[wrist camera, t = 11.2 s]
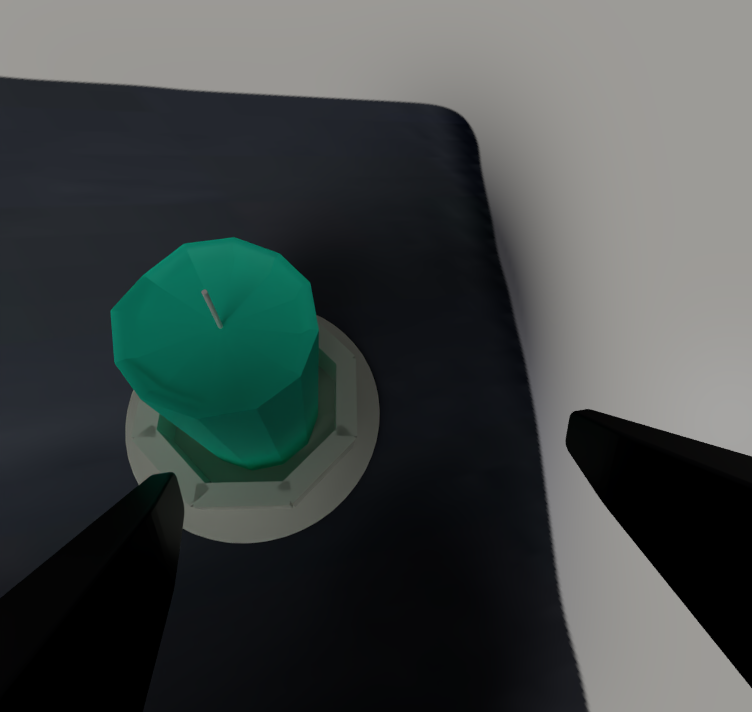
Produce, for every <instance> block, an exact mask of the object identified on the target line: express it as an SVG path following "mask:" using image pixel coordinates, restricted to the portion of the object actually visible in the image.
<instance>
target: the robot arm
mask: <svg viewBox="0 0 752 712" xmlns="http://www.w3.org/2000/svg"><path fill="white" fill-rule="evenodd" d="M566 447H567V449H568V451H569V453H570V454H571V456H572V457H573V459H574V460H575V462H576V463H577V465H578V466H579V468H580V469H581V471H582V472H583V474H584V475H585V477H586V478H587V480H588V481H589V483H590V484H591V486H592V487H593V489H594V490H595V492H596V493H597V495H598V496H599V498H600V499H601V500H602V502H603V503H604V505H605V506H606V507H607V509H608V510H609V511H610V512H611V514H612V515H613V516H614V517H615V519H616V520H617V521H618V522H619V524H620V525H621V526H622V527H623V529H624V530H625V531H626V532H627V534H628V535H629V536H630V537H631V538H632V540H633V541H634V542H635V543H636V545H637V546H638V547H639V549H640V550H641V551H642V552H643V553H644V555H645V556H646V557H647V558H648V560H649V561H650V562H651V563H652V565H653V566H654V567H655V568H656V570H657V571H658V572H659V573H660V575H661V576H662V577H663V578H664V580H665V581H666V582H667V583H668V585H669V586H670V587H671V588H672V590H673V591H674V592H675V593H676V594H677V596H678V597H679V598H680V599H681V601H682V602H683V603H684V604H685V605H686V607H687V608H688V609H689V611H690V612H691V613H692V614H693V616H694V617H695V618H696V619H697V621H698V622H699V623H700V624H701V626H702V627H703V628H704V629H705V631H706V632H707V633H708V634H709V635H710V637H711V638H712V639H713V641H714V642H715V643H716V644H717V645H718V647H719V648H720V649H721V650H722V652H723V653H724V654H725V655H726V657H727V658H728V659H729V660H730V662H731V663H732V664H733V665H734V666H735V668H736V669H737V670H738V671H739V673H740V674H741V675H742V677H743V678H744V679H745V680H746V682H747V683H748V684H749V685H750V687H751V688H752V457H751V456H748V455H745V454H741V453H738V452H734V451H731V450H728V449H724V448H721V447H717V446H714V445H710V444H707V443H704V442H700V441H697V440H693V439H690V438H686V437H683V436H680V435H676V434H673V433H669V432H666V431H663V430H659V429H656V428H652V427H649V426H645V425H642V424H639V423H635V422H632V421H628V420H625V419H621V418H618V417H615V416H611V415H608V414H604V413H601V412H597V411H594V410H590V409H585V410H580V411H574V412H573V413H572V414H571V415H570V418H569V424H568V429H567V435H566ZM183 521H184V502H183V499H182V495H181V491H180V487H179V484H178V480H177V477H176V475H175V473H173V472H166V473H159V474H153V475H151V476H149V477H148V478H147V479H146V480H144V481H143V482H142V483H141V484H140V485H138V486H137V487H136V488H135V489H133V490H132V491H131V492H130V493H129V494H127V495H126V496H125V497H124V498H122V499H121V500H120V501H119V502H118V503H116V504H115V505H114V506H113V507H111V508H110V509H109V510H108V511H107V512H105V513H104V514H103V515H102V516H100V517H99V518H98V519H97V520H96V521H94V522H93V523H92V524H91V525H89V526H88V527H87V528H86V529H84V530H83V531H82V532H81V533H80V534H78V535H77V536H76V537H75V538H73V539H72V540H71V541H70V542H69V543H67V544H66V545H65V546H64V547H62V548H61V549H60V550H59V551H58V552H56V553H55V554H54V555H53V556H51V557H50V558H49V559H48V560H47V561H45V562H44V563H43V564H42V565H40V566H39V567H38V568H37V569H36V570H34V571H33V572H32V573H31V574H29V575H28V576H27V577H26V578H25V579H23V580H22V581H21V582H20V583H18V584H17V585H16V586H15V587H13V588H12V589H11V590H10V591H9V592H7V593H6V594H5V595H4V596H2V597H1V598H0V712H143V709H144V705H145V701H146V697H147V693H148V689H149V685H150V681H151V677H152V674H153V670H154V666H155V662H156V658H157V654H158V650H159V646H160V642H161V639H162V635H163V631H164V627H165V623H166V619H167V615H168V611H169V607H170V604H171V599H172V595H173V591H174V585H175V579H176V572H177V565H178V558H179V551H180V543H181V536H182V529H183Z"/></svg>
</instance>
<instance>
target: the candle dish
mask: <svg viewBox="0 0 752 712" xmlns="http://www.w3.org/2000/svg"><path fill="white" fill-rule="evenodd" d="M316 317H317V322H318V328H319V366H318V418H317V420H316V423H315V426H314V428H313V431H312V434H311V436H310V439H309V442H308V444H307V445H306V446H304V447H303V448H302V449H301V450H300V451H299V452H297V453H296V454H295V455H294V456H293V457H292V458H290V459H289V460H288V461H287V462H286V463H285V464H282V465H277V466H273V467H268V468H263V469H258V470H254V471H252V470H249V469H246V468H243V467H240V466H237V465H234V464H231V463H228V462H225V461H222V460H221V459H220V458H218V457H217V456H216V455H214V454H213V453H212V452H210V451H209V450H208V449H206V448H205V447H204V446H202V445H201V444H200V443H198V442H197V441H196V440H194V439H193V438H192V437H190V436H189V435H188V434H186V433H185V432H184V431H182V430H181V429H180V428H178V427H177V426H175V425H174V424H173V423H171V422H170V421H169V420H167V419H166V418H165V417H163V416H162V415H161V414H159V413H158V412H157V411H155V410H154V409H153V408H151V407H150V406H149V405H147V404H146V403H145V402H143V401H142V400H141V399H140V398H139V396H138V395H137V394H136V392H135V391H134V390H133V392H132V396H131V399H130V403H129V406H128V411H127V418H126V447H127V453H128V459H129V462H130V465H131V468H132V471H133V474H134V476H135V478H136V480H137V482H138V484H139V485H140V484H141V483H142V482H143V481H144V480H146V479H147V478H148V477H149V476H151V475H153V474H159V473H166V472H173V473H175V475H176V477H177V480H178V484H179V487H180V491H181V495H182V499H183V502H184V521H183V529H185V530H187V531H189V532H191V533H193V534H196V535H199V536H202V537H205V538H208V539H211V540H216V541H222V542H228V543H256V542H265V541H270V540H274V539H278V538H282V537H286V536H289V535H291V534H294V533H297V532H299V531H302V530H304V529H306V528H307V527H309V526H311V525H313V524H315V523H316V522H318V521H319V520H321V519H322V518H324V517H325V516H326V515H328V514H329V513H330V512H332V511H333V510H334V509H335V508H336V507H337V506H338V505H339V504H340V503H341V502H342V501H343V500H344V499H345V498H346V497H347V496H348V494H349V493H350V492H351V491H352V490H353V488H354V487H355V486H356V485H357V483H358V481H359V480H360V478H361V476H362V475H363V473H364V472H365V470H366V468H367V465H368V463H369V461H370V459H371V457H372V454H373V451H374V447H375V444H376V441H377V435H378V429H379V415H380V408H379V398H378V392H377V388H376V384H375V380H374V378H373V375H372V372H371V370H370V367H369V366H368V364H367V362H366V360H365V358H364V356H363V355H362V353H361V352H360V351H359V349H358V348H357V347H356V345H355V344H354V343H353V342H352V341H351V340H350V339H349V338H348V337H347V336H346V334H344V333H343V332H342V331H341V330H340V329H338V328H337V327H336V326H335V325H333V324H332V323H330V322H328V321H327V320H325V319H324V318H322V317H320V316H318V315H316Z"/></svg>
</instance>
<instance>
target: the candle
mask: <svg viewBox="0 0 752 712" xmlns="http://www.w3.org/2000/svg"><path fill="white" fill-rule="evenodd" d="M111 323H112V336H113V350H114V363H115V364H116V366H117V367H118V368H119V370H120V371H121V373H122V374H123V375H124V377H125V378H126V380H127V381H128V382H129V384H130V385H131V387H132V388H133V389H134V391H135V392H136V394H137V395H138V396H139V398H140V399H141V400H142V401H143V402H145V403H146V404H147V405H149V406H150V407H151V408H153V409H154V410H155V411H157V412H158V413H159V414H161V415H162V416H163V417H165V418H166V419H167V420H169V421H170V422H171V423H173V424H174V425H175V426H177V427H178V428H180V429H181V430H182V431H184V432H185V433H186V434H188V435H189V436H190V437H192V438H193V439H194V440H196V441H197V442H198V443H200V444H201V445H202V446H204V447H205V448H206V449H208V450H209V451H210V452H212V453H213V454H214V455H216V456H217V457H218V458H220V459H221V460H222V461H225V462H228V463H231V464H234V465H237V466H240V467H243V468H246V469H249V470H252V471H254V470H258V469H263V468H268V467H273V466H277V465H282V464H285V463H286V462H287V461H288V460H289V459H290V458H292V457H293V456H294V455H295V454H296V453H297V452H299V451H300V450H301V449H302V448H303V447H304V446H306V445H307V444H308V442H309V439H310V436H311V434H312V431H313V428H314V426H315V423H316V420H317V418H318V366H319V328H318V322H317V317H316V311H315V306H314V300H313V295H312V289H311V284H310V282H309V281H308V280H307V279H306V278H305V277H304V276H303V275H302V274H301V273H300V272H299V271H298V270H296V269H295V268H294V267H293V266H292V265H291V264H290V263H289V262H288V261H287V260H286V259H285V258H284V257H283V256H282V255H281V254H280V253H277V252H274V251H271V250H268V249H266V248H263V247H260V246H257V245H254V244H252V243H249V242H246V241H243V240H240V239H238V238H235V237H232V238H224V239H217V240H209V241H201V242H193V243H186V244H183V245H182V246H180V247H179V248H178V249H176V250H175V251H174V252H173V253H171V254H170V255H169V256H167V257H166V258H165V259H163V260H162V261H161V262H160V263H158V264H157V265H156V266H154V267H153V268H152V269H150V270H149V271H148V272H146V273H145V274H144V275H143V276H142V277H141V278H140V279H139V280H138V281H137V282H136V283H135V284H134V286H133V287H132V288H131V289H130V290H129V291H128V292H127V293H126V294H125V295H124V296H123V298H122V299H121V300H120V301H119V302H118V303H117V304H116V305H115V306H114V307H113V308H112V310H111Z"/></svg>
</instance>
